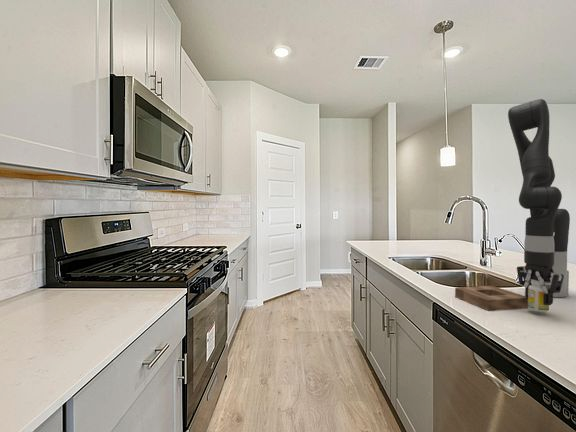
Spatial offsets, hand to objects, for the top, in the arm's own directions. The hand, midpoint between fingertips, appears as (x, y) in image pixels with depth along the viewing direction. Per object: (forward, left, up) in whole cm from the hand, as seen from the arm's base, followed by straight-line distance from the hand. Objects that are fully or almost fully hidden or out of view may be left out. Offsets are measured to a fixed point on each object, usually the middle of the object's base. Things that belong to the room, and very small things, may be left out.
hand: (538, 301), depth 101 cm
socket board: (+6, -13, -4) cm, 15 cm away
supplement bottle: (0, 0, -3) cm, 3 cm away
